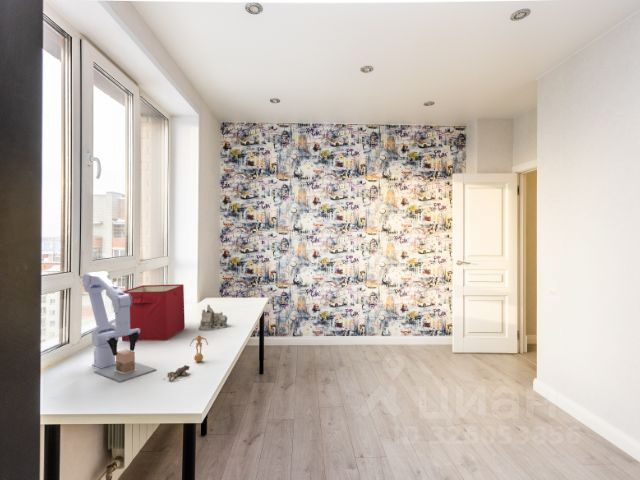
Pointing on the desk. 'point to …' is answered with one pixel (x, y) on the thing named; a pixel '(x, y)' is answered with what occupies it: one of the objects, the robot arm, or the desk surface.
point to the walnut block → (125, 366)
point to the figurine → (198, 356)
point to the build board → (120, 376)
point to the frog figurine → (177, 374)
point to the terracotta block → (125, 356)
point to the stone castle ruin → (212, 320)
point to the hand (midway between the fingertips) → (123, 352)
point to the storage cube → (157, 311)
